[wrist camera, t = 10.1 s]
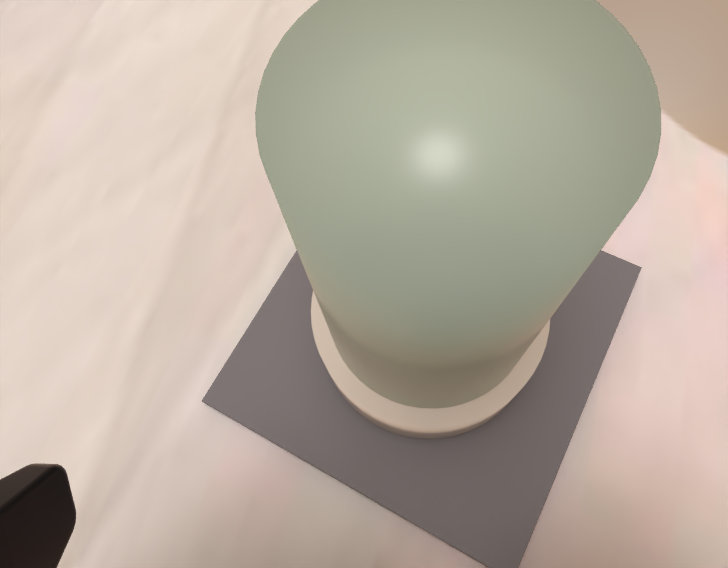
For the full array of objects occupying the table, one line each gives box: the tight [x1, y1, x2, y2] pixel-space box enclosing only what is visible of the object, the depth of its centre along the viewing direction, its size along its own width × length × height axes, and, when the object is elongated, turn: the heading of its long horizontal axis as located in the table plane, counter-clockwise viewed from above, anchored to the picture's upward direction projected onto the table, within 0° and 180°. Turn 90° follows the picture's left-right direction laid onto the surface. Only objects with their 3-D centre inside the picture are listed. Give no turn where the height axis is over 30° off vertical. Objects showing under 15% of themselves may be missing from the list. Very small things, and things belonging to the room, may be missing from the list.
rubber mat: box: [202, 250, 641, 568], centre depth 22 cm, size 12×12×1 cm
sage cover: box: [255, 0, 661, 408], centre depth 14 cm, size 6×6×10 cm
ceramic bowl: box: [311, 291, 550, 439], centre depth 20 cm, size 8×8×3 cm
